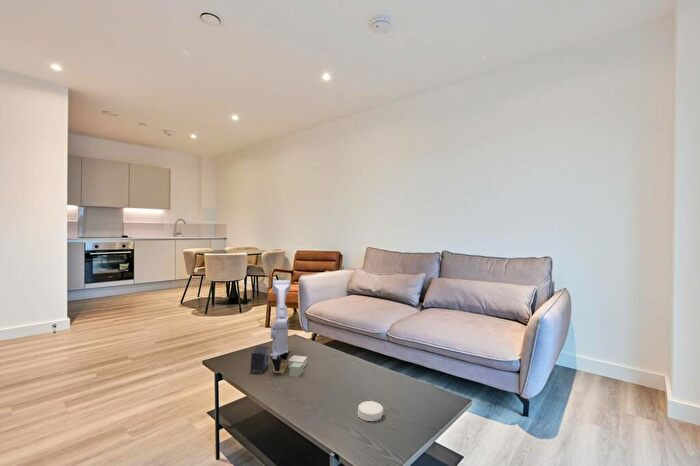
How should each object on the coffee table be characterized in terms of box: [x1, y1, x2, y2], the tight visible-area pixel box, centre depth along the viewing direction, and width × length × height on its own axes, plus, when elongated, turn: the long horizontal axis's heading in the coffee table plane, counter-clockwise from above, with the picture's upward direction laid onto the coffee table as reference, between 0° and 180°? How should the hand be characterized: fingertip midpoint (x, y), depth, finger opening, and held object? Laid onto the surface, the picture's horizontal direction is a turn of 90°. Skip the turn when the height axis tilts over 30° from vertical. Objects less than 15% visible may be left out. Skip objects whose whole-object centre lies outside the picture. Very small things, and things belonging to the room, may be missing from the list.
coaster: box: [357, 400, 384, 421], centre depth 130 cm, size 10×10×4 cm
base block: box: [287, 355, 308, 369], centre depth 176 cm, size 8×8×4 cm
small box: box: [249, 345, 270, 375], centre depth 169 cm, size 11×6×10 cm, turn 179°
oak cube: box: [273, 360, 288, 374], centre depth 168 cm, size 5×5×5 cm
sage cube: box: [289, 362, 304, 378], centre depth 165 cm, size 5×5×5 cm
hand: (280, 368), depth 168 cm, fingers open, 7 cm apart
